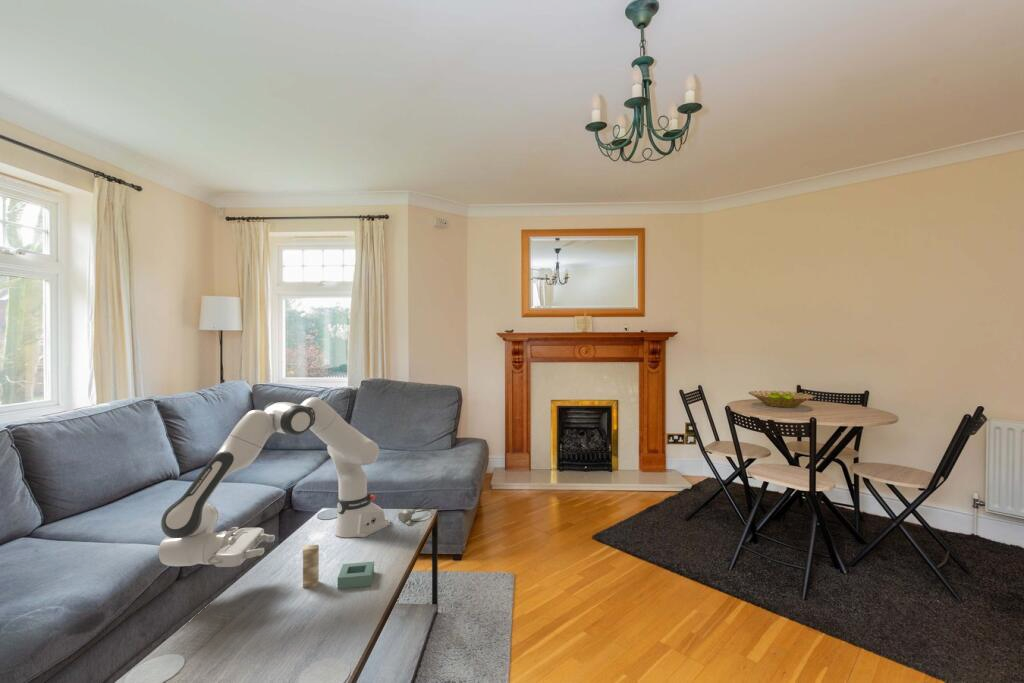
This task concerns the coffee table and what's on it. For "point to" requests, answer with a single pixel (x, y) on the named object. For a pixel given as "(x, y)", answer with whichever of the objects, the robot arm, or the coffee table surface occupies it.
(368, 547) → the coffee table surface
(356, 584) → the sage square frame
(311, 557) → the light wooden block
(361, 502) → the robot arm
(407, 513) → the reed diffuser
